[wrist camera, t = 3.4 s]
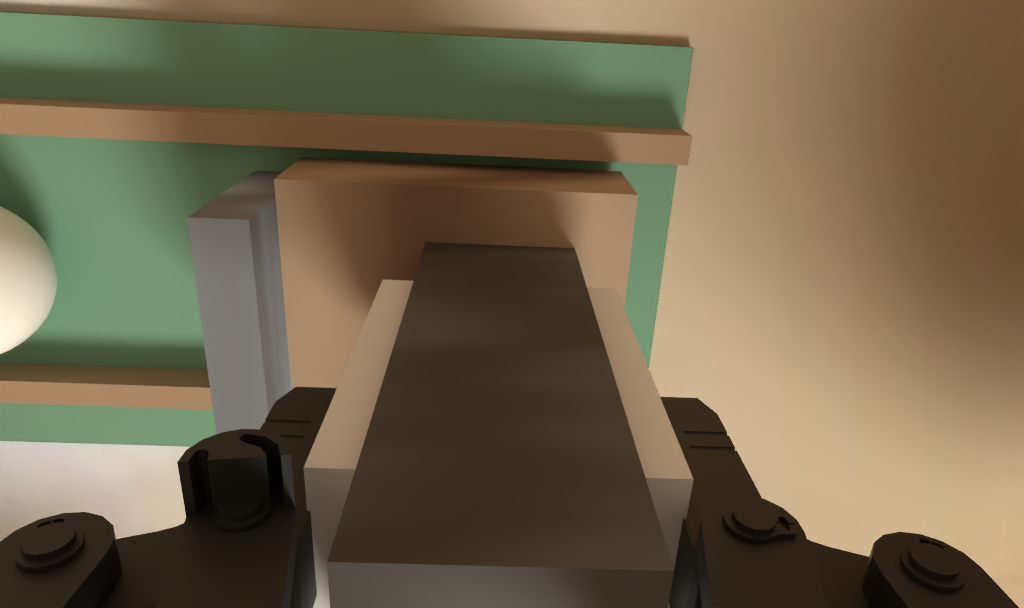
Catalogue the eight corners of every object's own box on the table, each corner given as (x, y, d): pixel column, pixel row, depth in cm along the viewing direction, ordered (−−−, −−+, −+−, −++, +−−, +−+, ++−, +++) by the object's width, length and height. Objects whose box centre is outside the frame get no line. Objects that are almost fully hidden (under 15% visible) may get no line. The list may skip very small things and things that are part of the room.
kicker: (620, 171, 18) (832, 465, 7) (598, 379, 20) (725, 863, 9) (253, 154, 18) (-198, 433, 6) (273, 368, 20) (-29, 855, 9)
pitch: (691, 46, 17) (704, 50, 16) (634, 456, 22) (641, 480, 21) (-688, -23, 16) (-775, -26, 15) (-440, 423, 21) (-493, 446, 20)
